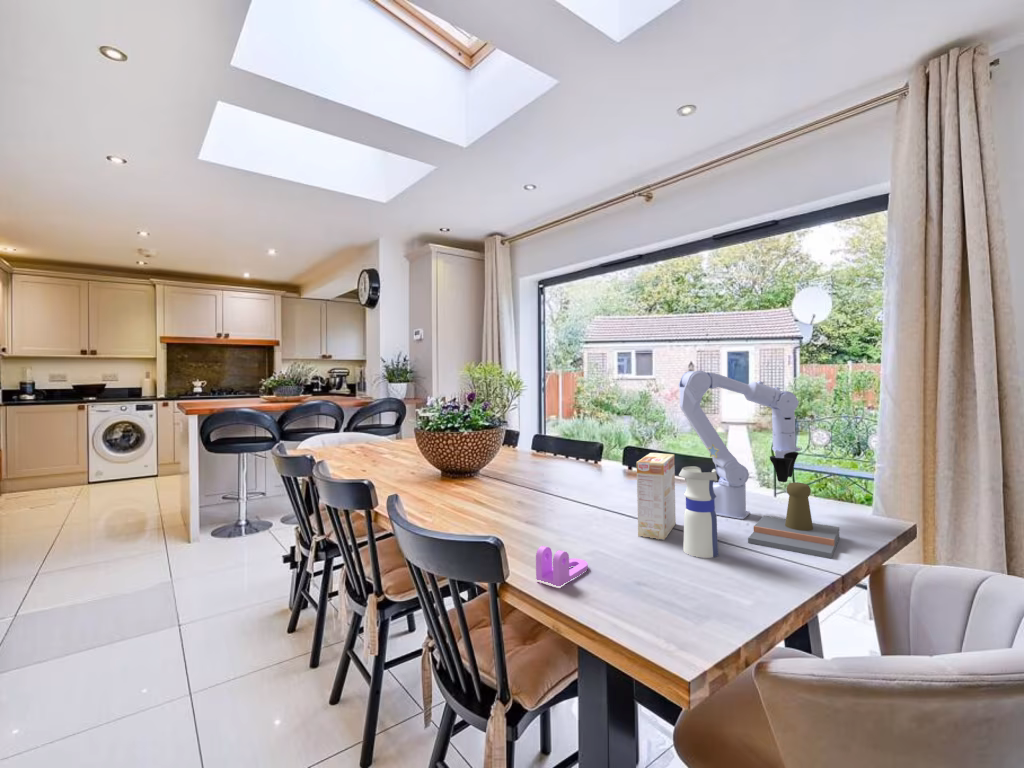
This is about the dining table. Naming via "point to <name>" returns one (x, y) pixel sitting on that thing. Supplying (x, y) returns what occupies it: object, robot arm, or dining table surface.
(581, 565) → the bracket
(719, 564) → the dining table surface
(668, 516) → the coffeecake box
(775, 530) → the stepped stand
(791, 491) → the cork
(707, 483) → the white spray bottle
